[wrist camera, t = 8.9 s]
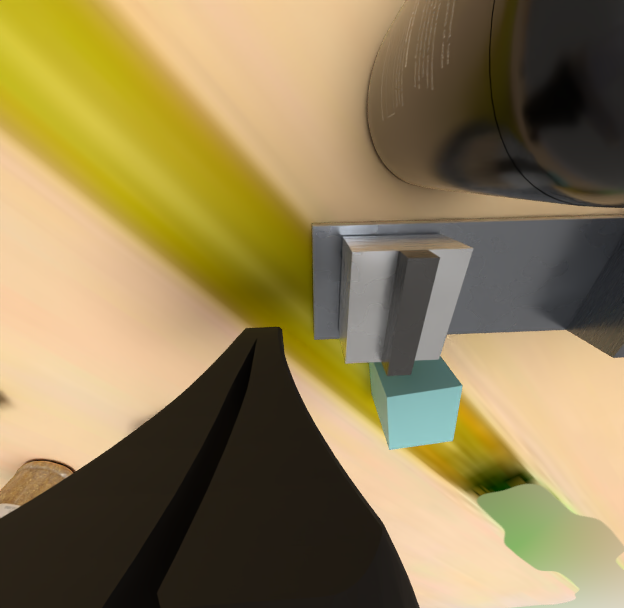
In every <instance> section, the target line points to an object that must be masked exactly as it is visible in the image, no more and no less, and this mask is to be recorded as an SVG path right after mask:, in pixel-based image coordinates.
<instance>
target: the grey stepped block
mask: <svg viewBox="0 0 624 608" xmlns="http://www.w3.org/2000/svg"><path fill="white" fill-rule="evenodd" d="M472 252H473V248H472V247H470V246H467V245H465V244H463V243H461V242H458V241H456V240H454V239H452V238H450V237H447V236H445V235H443V234H417V235H382V236H348V237H343V243H342V267H341V290H340V314H339V338H340V342H341V347H342V351H343V355H344V360H345V363H368V362H381V363H382V365H383V368H384V370H385V373H386V375H387V376H400V375H411V373H412V369H413V365H414V361H416V360H439V358H440V354H441V351H442V348H443V345H444V341H445V338H446V335H447V332H448V329H449V325H450V322H451V319H452V316H453V313H454V309H455V306H456V303H457V300H458V297H459V293H460V290H461V287H462V284H463V280H464V277H465V274H466V271H467V268H468V264H469V261H470V258H471V255H472Z"/></svg>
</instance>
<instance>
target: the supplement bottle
mask: <svg viewBox="0 0 624 608" xmlns="http://www.w3.org/2000/svg"><path fill="white" fill-rule="evenodd" d="M367 109H368V123H369V129H370V134H371V138H372V141H373V144H374V146H375V149H376V151H377V153H378V155H379V157H380V159H381V160H382V162H383V163H384V164H385V166H386V167H387V168H388V169H389V170H390V171H391V172H392V173H393V174H394V175H395V176H397V177H398V178H400V179H401V180H403V181H405V182H407V183H410V184H412V185H416V186H420V187H426V188H432V189H439V190H448V191H457V192H465V193H474V194H482V195H491V196H499V197H508V198H517V199H525V200H534V201H542V202H551V203H560V204H568V205H577V206H592V207H614V208H624V0H406V1H405V3H404V5H403V6H402V8H401V9H400V11H399V13H398V15H397V16H396V18H395V20H394V21H393V23H392V25H391V26H390V28H389V30H388V32H387V34H386V36H385V38H384V40H383V42H382V44H381V47H380V49H379V51H378V54H377V57H376V60H375V63H374V66H373V70H372V73H371V78H370V83H369V91H368V105H367Z"/></svg>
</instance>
